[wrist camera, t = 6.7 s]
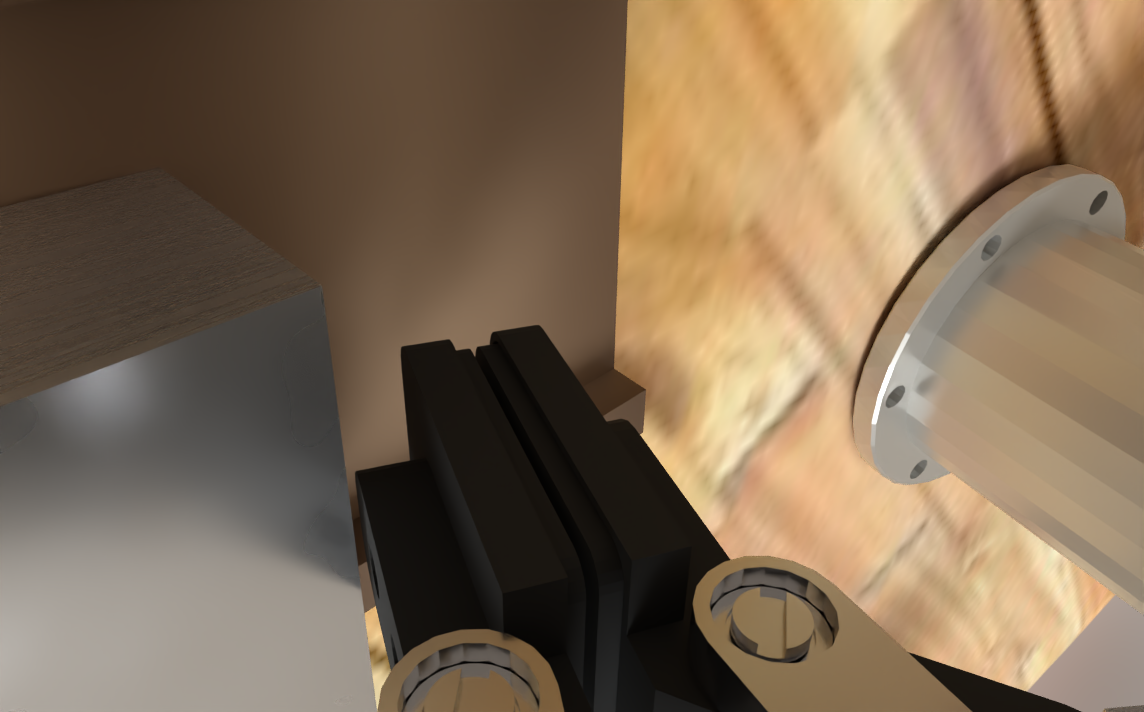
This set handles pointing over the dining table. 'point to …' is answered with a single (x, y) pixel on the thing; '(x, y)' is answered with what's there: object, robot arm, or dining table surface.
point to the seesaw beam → (359, 164)
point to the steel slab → (169, 465)
